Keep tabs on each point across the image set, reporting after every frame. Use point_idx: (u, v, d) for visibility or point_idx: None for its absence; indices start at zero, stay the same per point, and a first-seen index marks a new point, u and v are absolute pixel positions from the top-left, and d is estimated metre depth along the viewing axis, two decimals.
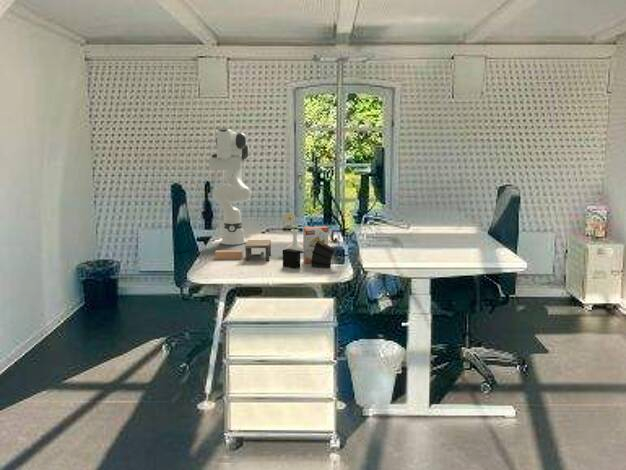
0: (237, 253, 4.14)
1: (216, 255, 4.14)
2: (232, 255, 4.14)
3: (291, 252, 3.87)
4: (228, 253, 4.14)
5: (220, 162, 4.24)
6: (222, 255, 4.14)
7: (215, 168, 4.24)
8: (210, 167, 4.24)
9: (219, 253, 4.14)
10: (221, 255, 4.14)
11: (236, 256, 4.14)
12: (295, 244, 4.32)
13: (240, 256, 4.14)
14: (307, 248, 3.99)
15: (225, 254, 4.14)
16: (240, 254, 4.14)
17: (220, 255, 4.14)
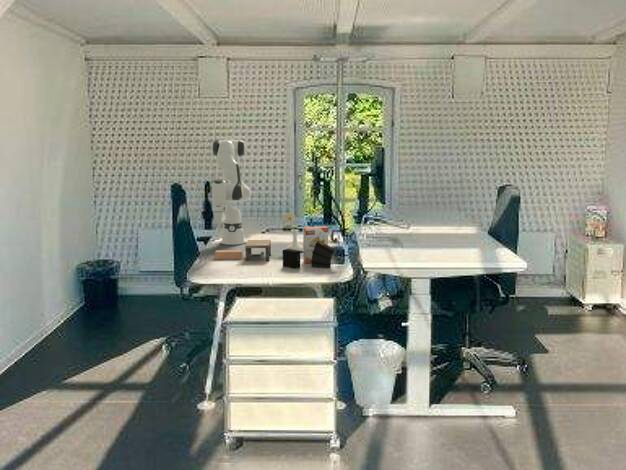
0: (237, 253, 4.14)
1: (216, 255, 4.14)
2: (232, 255, 4.14)
3: (291, 252, 3.87)
4: (228, 253, 4.14)
5: (222, 215, 4.10)
6: (222, 255, 4.14)
7: (222, 221, 4.07)
8: (221, 221, 4.04)
9: (219, 253, 4.14)
10: (221, 255, 4.14)
11: (236, 256, 4.14)
12: (295, 244, 4.32)
13: (240, 256, 4.14)
14: (307, 248, 3.99)
15: (225, 254, 4.14)
16: (240, 254, 4.14)
17: (220, 255, 4.14)
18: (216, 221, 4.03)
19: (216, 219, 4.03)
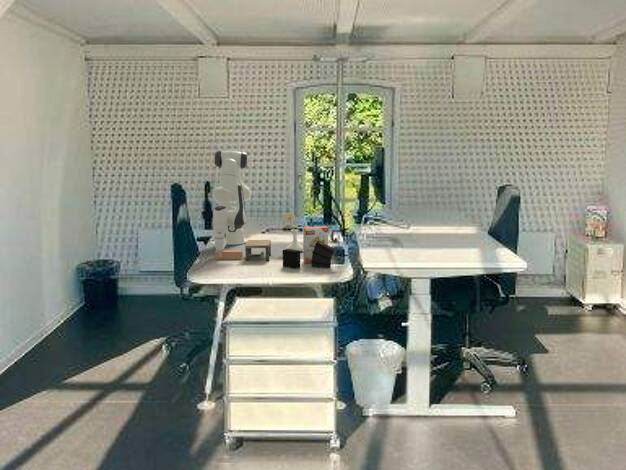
0: (237, 253, 4.14)
1: (216, 255, 4.14)
2: (232, 255, 4.14)
3: (291, 252, 3.87)
4: (228, 253, 4.14)
5: (223, 241, 4.13)
6: (222, 255, 4.14)
7: (223, 248, 4.10)
8: None
9: None
10: None
11: (236, 256, 4.14)
12: (295, 244, 4.32)
13: (240, 256, 4.14)
14: (307, 248, 3.99)
15: (225, 254, 4.14)
16: (240, 254, 4.14)
17: None
18: (217, 248, 4.06)
19: (217, 246, 4.06)
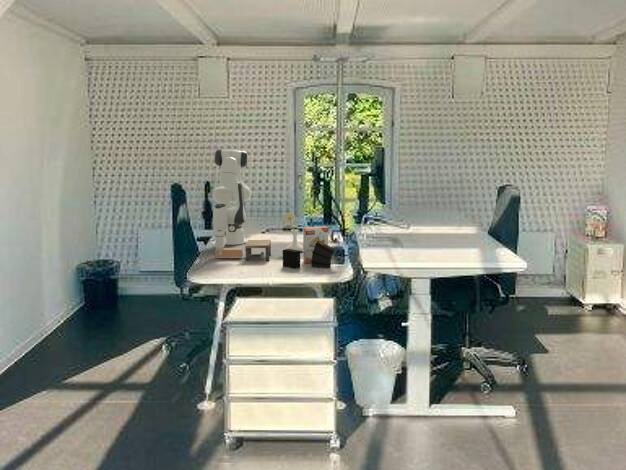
0: (237, 251, 4.14)
1: (216, 253, 4.14)
2: (232, 253, 4.14)
3: (291, 252, 3.87)
4: (228, 251, 4.14)
5: (223, 239, 4.13)
6: None
7: (223, 246, 4.10)
8: (222, 246, 4.07)
9: None
10: None
11: (236, 254, 4.14)
12: (295, 244, 4.32)
13: (240, 254, 4.14)
14: (307, 248, 3.99)
15: (225, 252, 4.14)
16: (240, 252, 4.14)
17: None
18: (217, 246, 4.06)
19: (217, 244, 4.06)
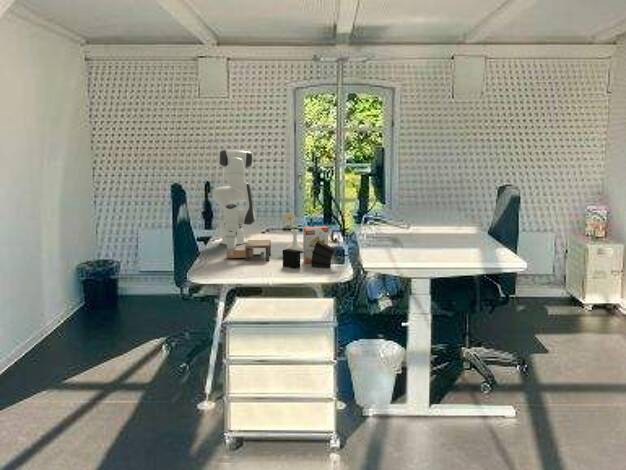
0: None
1: (227, 253, 4.14)
2: (243, 254, 4.14)
3: (291, 252, 3.87)
4: (239, 251, 4.14)
5: (234, 239, 4.13)
6: None
7: (234, 246, 4.10)
8: (233, 246, 4.07)
9: None
10: None
11: None
12: (295, 244, 4.32)
13: (251, 254, 4.14)
14: (307, 248, 3.99)
15: (236, 252, 4.14)
16: (251, 252, 4.14)
17: None
18: (228, 246, 4.06)
19: (228, 244, 4.06)
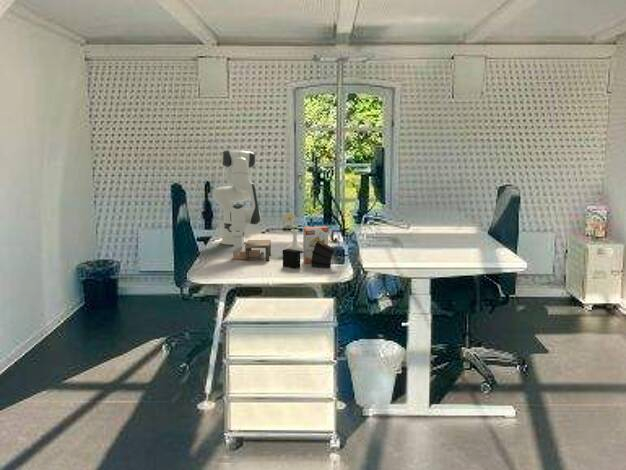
0: (255, 253, 4.14)
1: (234, 255, 4.14)
2: (250, 255, 4.14)
3: (291, 252, 3.87)
4: None
5: None
6: (240, 255, 4.14)
7: (241, 246, 4.10)
8: (240, 246, 4.07)
9: None
10: None
11: (254, 256, 4.14)
12: (295, 244, 4.32)
13: (258, 256, 4.14)
14: (307, 248, 3.99)
15: (243, 254, 4.14)
16: (258, 254, 4.14)
17: None
18: (235, 246, 4.06)
19: (235, 244, 4.06)
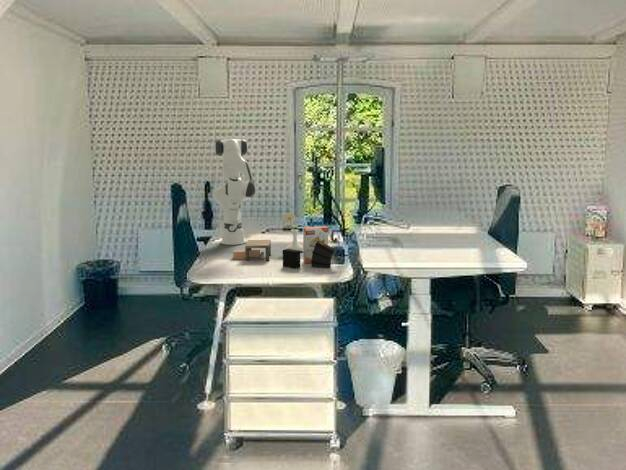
0: (255, 253, 4.14)
1: (234, 255, 4.14)
2: (250, 255, 4.14)
3: (291, 252, 3.87)
4: None
5: None
6: (240, 255, 4.14)
7: (237, 219, 4.09)
8: (237, 219, 4.05)
9: (237, 253, 4.14)
10: (239, 255, 4.14)
11: (254, 256, 4.14)
12: (295, 244, 4.32)
13: (258, 256, 4.14)
14: (307, 248, 3.99)
15: (243, 254, 4.14)
16: (258, 254, 4.14)
17: (238, 255, 4.14)
18: (232, 219, 4.04)
19: (232, 217, 4.04)
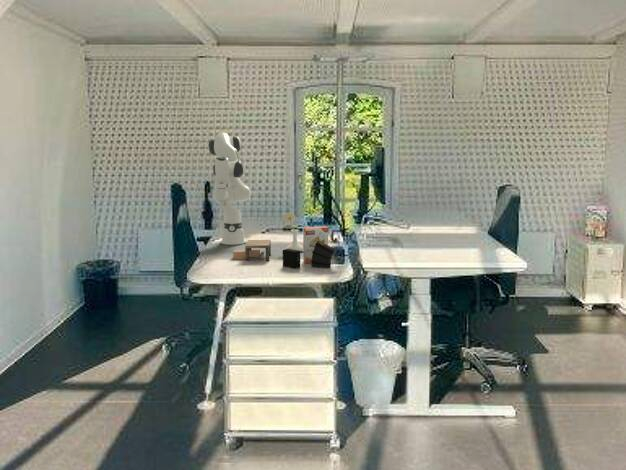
0: (255, 253, 4.14)
1: (234, 255, 4.14)
2: (250, 255, 4.14)
3: (291, 252, 3.87)
4: None
5: (225, 192, 4.13)
6: (240, 255, 4.14)
7: (225, 198, 4.10)
8: (224, 198, 4.07)
9: (237, 253, 4.14)
10: (239, 255, 4.14)
11: (254, 256, 4.14)
12: (295, 244, 4.32)
13: (258, 256, 4.14)
14: (307, 248, 3.99)
15: (243, 254, 4.14)
16: (258, 254, 4.14)
17: (238, 255, 4.14)
18: (219, 198, 4.06)
19: (219, 196, 4.06)
